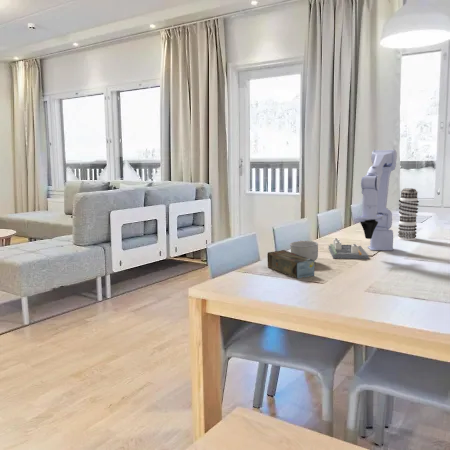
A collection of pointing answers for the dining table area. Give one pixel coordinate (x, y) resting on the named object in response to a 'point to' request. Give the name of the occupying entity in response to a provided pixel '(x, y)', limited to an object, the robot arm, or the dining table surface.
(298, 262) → the beverage carton
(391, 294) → the dining table surface
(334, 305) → the dining table surface
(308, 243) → the teacup
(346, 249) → the panel
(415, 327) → the dining table surface
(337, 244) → the breaker
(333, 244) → the breaker
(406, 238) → the decorative candle
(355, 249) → the breaker
